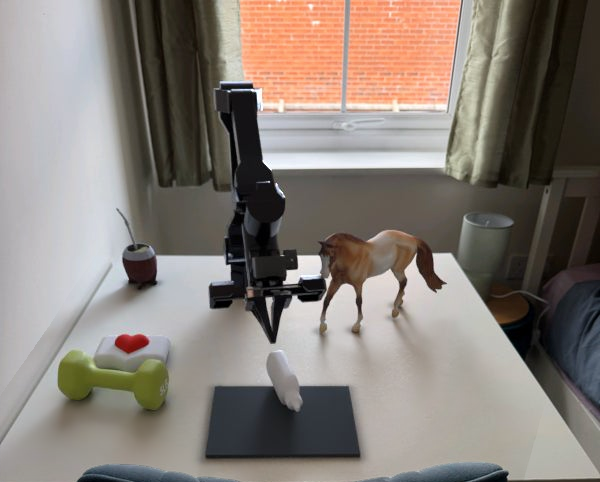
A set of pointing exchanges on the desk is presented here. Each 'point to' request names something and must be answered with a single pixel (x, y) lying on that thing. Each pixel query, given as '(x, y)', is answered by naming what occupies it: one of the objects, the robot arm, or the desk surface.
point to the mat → (281, 423)
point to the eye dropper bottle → (284, 380)
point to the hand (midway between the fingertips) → (273, 343)
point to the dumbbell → (113, 379)
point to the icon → (130, 351)
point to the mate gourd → (139, 261)
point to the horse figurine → (373, 265)
